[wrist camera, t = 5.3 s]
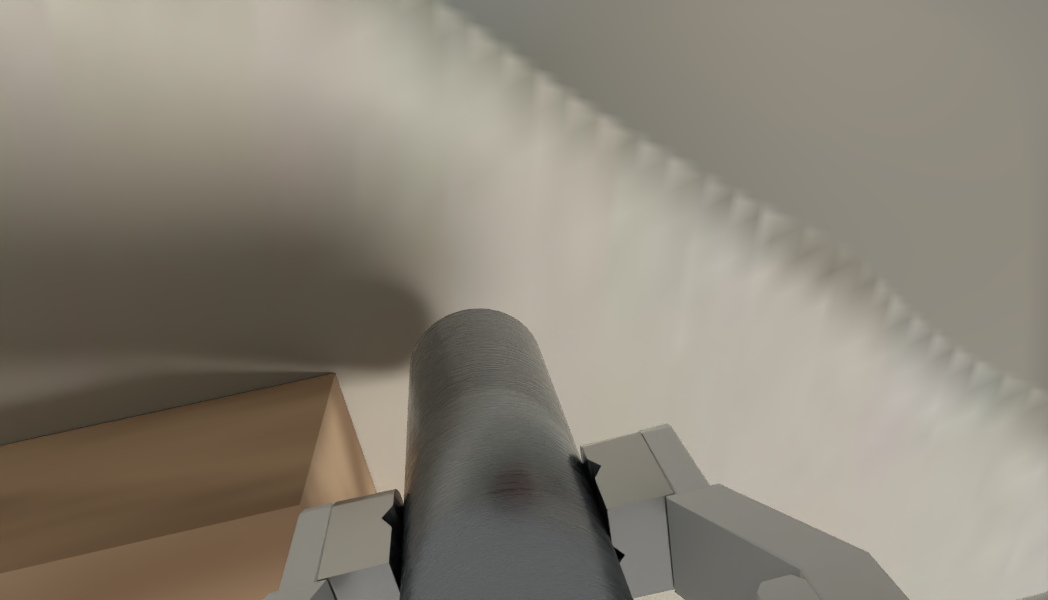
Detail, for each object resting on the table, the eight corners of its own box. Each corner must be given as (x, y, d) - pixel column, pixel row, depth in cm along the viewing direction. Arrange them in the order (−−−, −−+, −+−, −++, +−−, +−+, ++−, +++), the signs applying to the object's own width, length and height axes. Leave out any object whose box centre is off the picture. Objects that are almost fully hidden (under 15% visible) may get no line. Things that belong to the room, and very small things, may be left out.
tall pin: (550, 408, 15) (708, 871, 7) (427, 437, 15) (430, 951, 6) (530, 295, 14) (692, 687, 5) (395, 325, 13) (347, 781, 5)
